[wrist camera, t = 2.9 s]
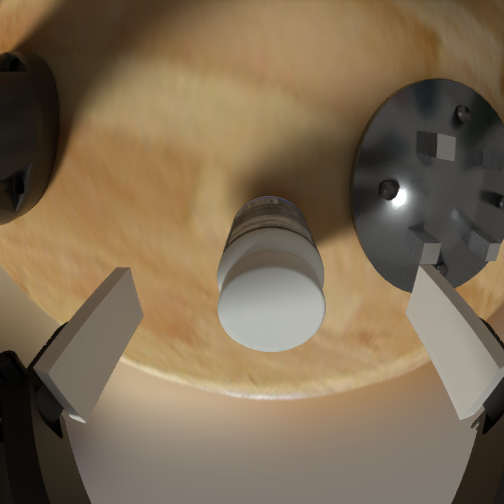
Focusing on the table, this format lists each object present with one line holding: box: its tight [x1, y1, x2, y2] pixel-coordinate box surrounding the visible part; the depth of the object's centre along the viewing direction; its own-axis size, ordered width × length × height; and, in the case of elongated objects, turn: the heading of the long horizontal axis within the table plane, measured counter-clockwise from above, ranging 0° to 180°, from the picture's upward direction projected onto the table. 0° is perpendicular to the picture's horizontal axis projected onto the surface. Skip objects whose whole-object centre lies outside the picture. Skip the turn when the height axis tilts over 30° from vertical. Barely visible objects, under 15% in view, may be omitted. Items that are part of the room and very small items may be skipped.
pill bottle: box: [217, 196, 326, 352], centre depth 13 cm, size 5×5×8 cm
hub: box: [350, 79, 504, 293], centre depth 14 cm, size 16×16×3 cm
